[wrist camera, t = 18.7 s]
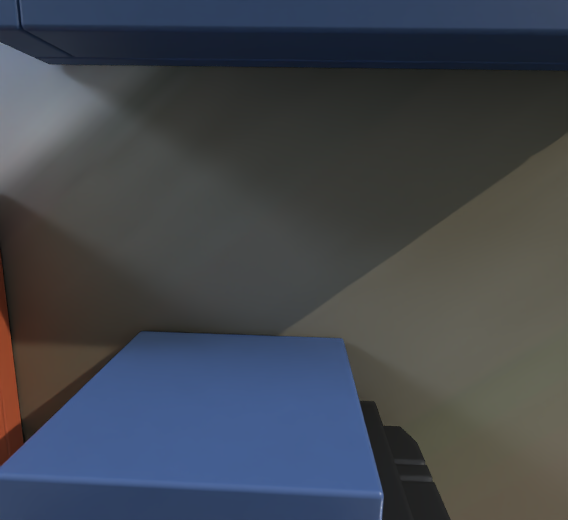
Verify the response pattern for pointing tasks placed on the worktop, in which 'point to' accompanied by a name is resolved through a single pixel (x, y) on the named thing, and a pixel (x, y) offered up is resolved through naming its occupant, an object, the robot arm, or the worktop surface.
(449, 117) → the worktop surface
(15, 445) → the terracotta tray
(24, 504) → the blue block
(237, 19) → the blue tray
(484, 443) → the worktop surface
